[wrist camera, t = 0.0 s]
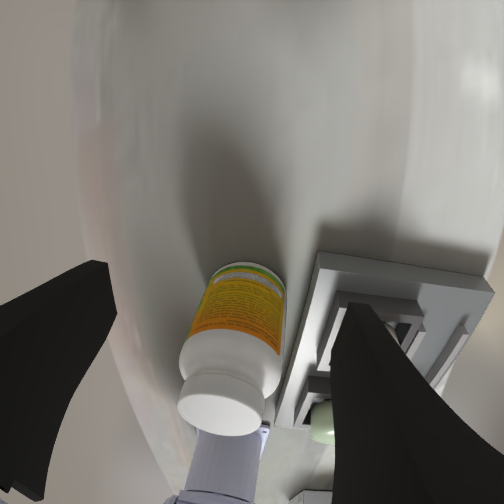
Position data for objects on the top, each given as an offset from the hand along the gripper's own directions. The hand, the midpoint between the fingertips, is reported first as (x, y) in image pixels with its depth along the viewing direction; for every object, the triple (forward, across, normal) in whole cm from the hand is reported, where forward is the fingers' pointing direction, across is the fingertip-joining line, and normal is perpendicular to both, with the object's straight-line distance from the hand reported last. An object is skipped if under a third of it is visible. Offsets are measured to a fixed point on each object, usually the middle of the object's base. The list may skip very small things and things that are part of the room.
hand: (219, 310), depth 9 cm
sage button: (+7, -8, +15) cm, 18 cm away
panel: (+10, -10, +12) cm, 19 cm away
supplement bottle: (+10, 0, +7) cm, 12 cm away
